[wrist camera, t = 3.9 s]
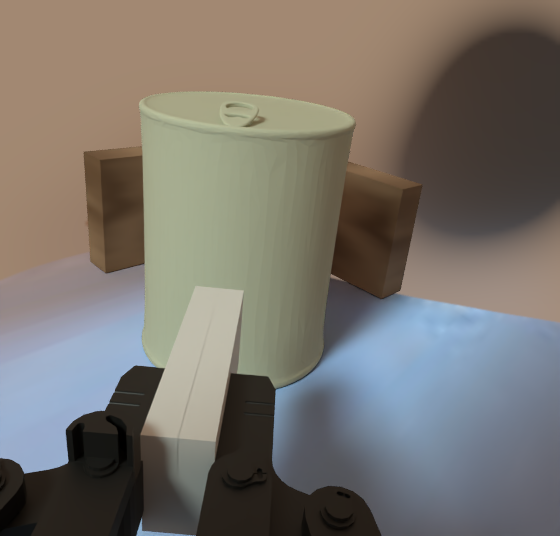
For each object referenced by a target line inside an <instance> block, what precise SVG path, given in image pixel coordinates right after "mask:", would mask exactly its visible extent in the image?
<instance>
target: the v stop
mask: <svg viewBox="0 0 560 536" xmlns="http://www.w3.org/2000/svg"><path fill="white" fill-rule="evenodd" d="M84 165H85V181H86V197H87V213H88V229H89V245H90V261H91V262H92V263H93V264H94V265H96V266H97V267H98V268H100V269H101V270H102V271H104V272H105V273H108V272H112V271H116V270H120V269H124V268H128V267H132V266H136V265H139V264H143V263H145V250H144V198H143V156H142V146H141V147H130V148H120V149H108V150H98V151H88V152H84ZM421 189H422V184H418V183H415V182H412V181H409V180H406V179H402V178H399V177H396V176H393V175H390V174H386V173H383V172H380V171H377V170H374V169H370V168H367V167H364V166H361V165H358V164H354V163H351V162H348V164H347V170H346V175H345V182H344V188H343V195H342V201H341V208H340V215H339V221H338V228H337V234H336V241H335V247H334V254H333V260H332V268H331V274H332V275H335V276H337V277H338V278H340V279H342V280H345V281H347V282H349V283H351V284H353V285H355V286H357V287H359V288H361V289H363V290H365V291H367V292H369V293H371V294H373V295H375V296H377V297H379V298H381V299H383V298H385V297H387V296H389V295H391V294H394V293H396V292H398V291H400V289H401V285H402V280H403V275H404V270H405V265H406V261H407V256H408V251H409V247H410V241H411V237H412V232H413V228H414V223H415V218H416V213H417V209H418V204H419V199H420V194H421Z"/></svg>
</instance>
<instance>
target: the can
mask: <svg viewBox="0 0 560 536" xmlns="http://www.w3.org/2000/svg"><path fill="white" fill-rule="evenodd" d="M139 110H140V115H141V132H142V133H141V134H142V156H143V198H144V250H145V317H144V328H143V332H142V344H143V348H144V351H145V353H146V355H147V357H148V358H149V360H150V361H151V362H152V363H153V365H155V366H156V367H157V368H165V367H166V364H167V362H168V359H169V356H170V354H171V351H172V348H173V346H174V343H175V340H176V337H177V335H178V332H179V329H180V327H181V324H182V321H183V319H184V316H185V313H186V311H187V308H188V305H189V303H190V300H191V297H192V294H193V292H194V289H195V286H202V287H212V288H223V289H233V290H244V296H243V310H242V323H241V337H240V351H239V364H238V370H237V374H247V375H257V376H268V377H269V379H270V380H271V382H272V384H273V386H274V388H275V389H276V388H280V387H284V386H286V385H289V384H291V383H293V382H295V381H297V380H299V379H301V378H302V377H304V376H305V375H307V374H308V373H309V372H310V371H311V370H312V369H313V368H314V367H315V366H316V365H317V363H318V362H319V360H320V358H321V356H322V353H323V349H324V339H323V328H324V320H325V311H326V304H327V296H328V289H329V282H330V275H331V268H332V260H333V254H334V247H335V241H336V234H337V228H338V221H339V215H340V208H341V201H342V195H343V188H344V182H345V175H346V170H347V164H348V158H349V153H350V147H351V141H352V136H353V132H354V129H355V126H356V122H355V119H354V118H353V117H352V116H350V115H349V114H347V113H345V112H342V111H340V110H337V109H334V108H330V107H327V106H323V105H319V104H315V103H310V102H305V101H299V100H293V99H287V98H280V97H272V96H263V95H253V94H242V93H228V92H172V93H163V94H156V95H151V96H148V97H146V98H144V99H142V100H141V101H140V103H139Z"/></svg>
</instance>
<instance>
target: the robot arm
mask: <svg viewBox="0 0 560 536" xmlns="http://www.w3.org/2000/svg"><path fill="white" fill-rule="evenodd" d="M243 296H244V290H233V289H223V288H212V287H202V286H195V289H194V292H193V294H192V297H191V300H190V303H189V305H188V308H187V311H186V313H185V316H184V319H183V321H182V324H181V327H180V329H179V332H178V335H177V337H176V340H175V343H174V346H173V348H172V351H171V354H170V356H169V359H168V362H167V364H166V367H165V368H156V367H146V366H134V367H133V368H132V369H130V370H129V371H128V372H127V373H125V374H124V375H123V376H122V377H121V379H120V381H119V383H118V385H117V387H116V389H115V393H113V395H112V397H111V399H110V403H109V404H108V406H107V408H106V410H105V411H96V412H92V413H89V414H85V415H83V416H81V417H80V418H78V419H76V420H75V421H73V422H72V423H71V424H70V425H69V427H68V428H67V429H66V438H67V449H68V459H69V462H68V464H65V465H63V466H61V467H58V468H54V469H50V470H44V471H38V472H32V473H26V474H24V472H23V470H22V468H21V466H20V465H19V464H18V463H16V462H14V461H12V460H10V459H2V458H0V536H136V534H137V531H138V528H139V525H140V521H141V518H142V531H151V532H162V533H174V534H185V535H196V536H381V533H380V531H379V529H378V527H377V524H376V522H375V520H374V517H373V515H372V513H371V510H370V508H369V507H368V505H367V504H366V503H365V501H364V500H363V499H362V498H361V497H360V496H358V495H357V494H356V493H355V492H353V491H351V490H348V489H345V488H343V487H336V486H327V487H323V488H320V489H317V490H316V491H314V492H313V493H312V494H311V495H308V494H305V493H303V492H300V491H297V490H295V489H293V488H291V487H289V486H288V485H286V484H285V483H284V482H283V481H281V479H280V478H279V477H278V476H277V474H276V473H275V471H274V468H273V464H272V449H273V429H274V410H275V391H276V389H275V388H274V386H273V384H272V382H271V380H270V379H269V377H268V376H257V375H247V374H237V370H238V364H239V351H240V337H241V323H242V310H243Z"/></svg>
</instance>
